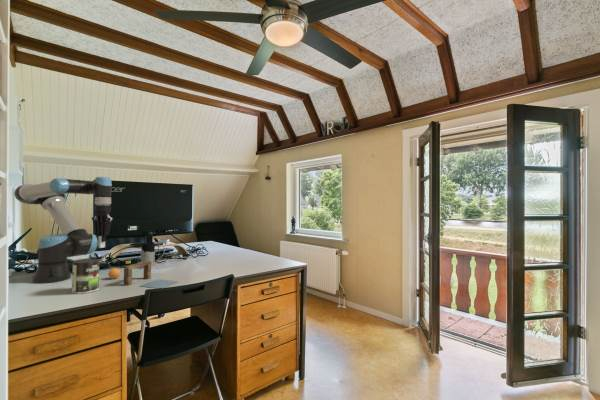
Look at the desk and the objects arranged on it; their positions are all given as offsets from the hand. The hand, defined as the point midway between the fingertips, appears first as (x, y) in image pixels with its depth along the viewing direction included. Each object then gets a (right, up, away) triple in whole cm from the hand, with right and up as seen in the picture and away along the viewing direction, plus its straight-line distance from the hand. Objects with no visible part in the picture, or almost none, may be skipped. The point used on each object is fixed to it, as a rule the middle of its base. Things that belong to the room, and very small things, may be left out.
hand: (101, 247), depth 157 cm
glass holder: (+14, -17, +27) cm, 35 cm away
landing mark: (+38, -17, -11) cm, 43 cm away
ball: (+9, -14, -3) cm, 17 cm away
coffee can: (+9, -17, -24) cm, 30 cm away
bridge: (+24, -17, -7) cm, 30 cm away
